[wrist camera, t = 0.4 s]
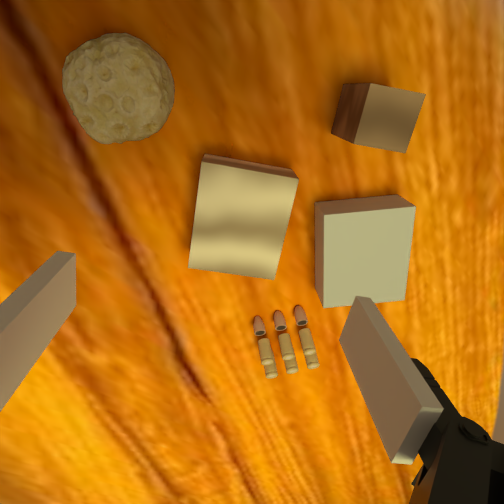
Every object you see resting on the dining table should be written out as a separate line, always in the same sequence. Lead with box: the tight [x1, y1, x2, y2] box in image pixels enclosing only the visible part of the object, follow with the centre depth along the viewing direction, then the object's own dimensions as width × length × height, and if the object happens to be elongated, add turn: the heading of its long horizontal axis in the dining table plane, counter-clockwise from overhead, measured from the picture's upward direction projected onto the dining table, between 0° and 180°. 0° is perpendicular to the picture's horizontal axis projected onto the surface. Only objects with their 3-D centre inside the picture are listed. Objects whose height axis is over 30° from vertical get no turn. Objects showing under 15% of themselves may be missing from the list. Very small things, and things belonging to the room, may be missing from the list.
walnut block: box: [331, 83, 426, 153], centre depth 35 cm, size 5×5×8 cm
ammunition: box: [253, 305, 319, 378], centre depth 48 cm, size 5×7×8 cm
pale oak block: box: [188, 154, 299, 280], centre depth 40 cm, size 12×10×5 cm
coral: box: [62, 33, 175, 144], centre depth 33 cm, size 9×9×8 cm
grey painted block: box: [315, 195, 416, 308], centre depth 43 cm, size 12×10×5 cm
